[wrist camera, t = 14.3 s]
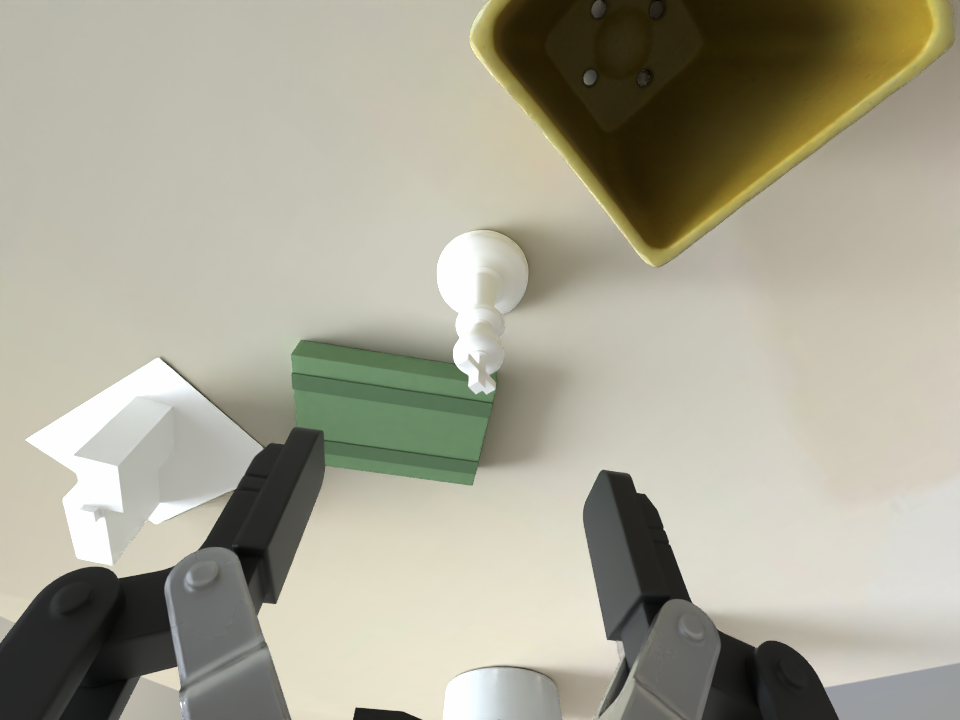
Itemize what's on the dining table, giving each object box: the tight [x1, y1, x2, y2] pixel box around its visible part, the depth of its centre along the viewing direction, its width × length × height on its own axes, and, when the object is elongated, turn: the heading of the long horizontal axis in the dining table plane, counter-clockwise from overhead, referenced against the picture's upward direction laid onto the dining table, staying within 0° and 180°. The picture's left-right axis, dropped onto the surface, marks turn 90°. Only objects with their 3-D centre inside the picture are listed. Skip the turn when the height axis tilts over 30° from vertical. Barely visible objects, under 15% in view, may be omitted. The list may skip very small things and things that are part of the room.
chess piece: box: [437, 230, 529, 395], centre depth 20 cm, size 5×5×10 cm
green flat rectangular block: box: [291, 340, 497, 485], centre depth 29 cm, size 12×9×2 cm
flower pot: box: [469, 0, 955, 267], centre depth 15 cm, size 9×9×9 cm
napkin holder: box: [26, 357, 264, 566], centre depth 30 cm, size 15×11×6 cm
